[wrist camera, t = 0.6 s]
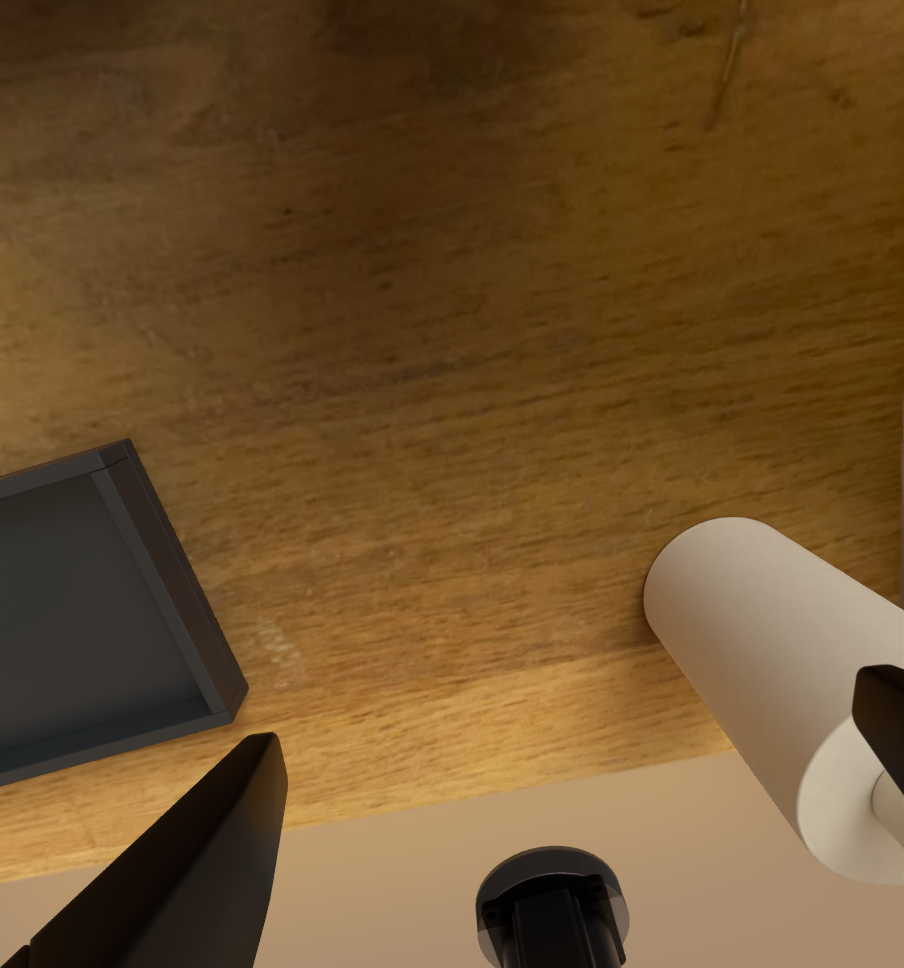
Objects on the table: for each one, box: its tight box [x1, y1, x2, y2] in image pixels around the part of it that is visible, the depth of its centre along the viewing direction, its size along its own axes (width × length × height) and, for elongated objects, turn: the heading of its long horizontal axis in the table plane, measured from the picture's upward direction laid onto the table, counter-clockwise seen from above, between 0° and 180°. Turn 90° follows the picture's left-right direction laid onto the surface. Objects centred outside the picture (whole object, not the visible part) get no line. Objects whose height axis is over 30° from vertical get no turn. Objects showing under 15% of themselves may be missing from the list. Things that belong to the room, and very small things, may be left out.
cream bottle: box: [643, 517, 904, 885], centre depth 17 cm, size 6×6×13 cm
